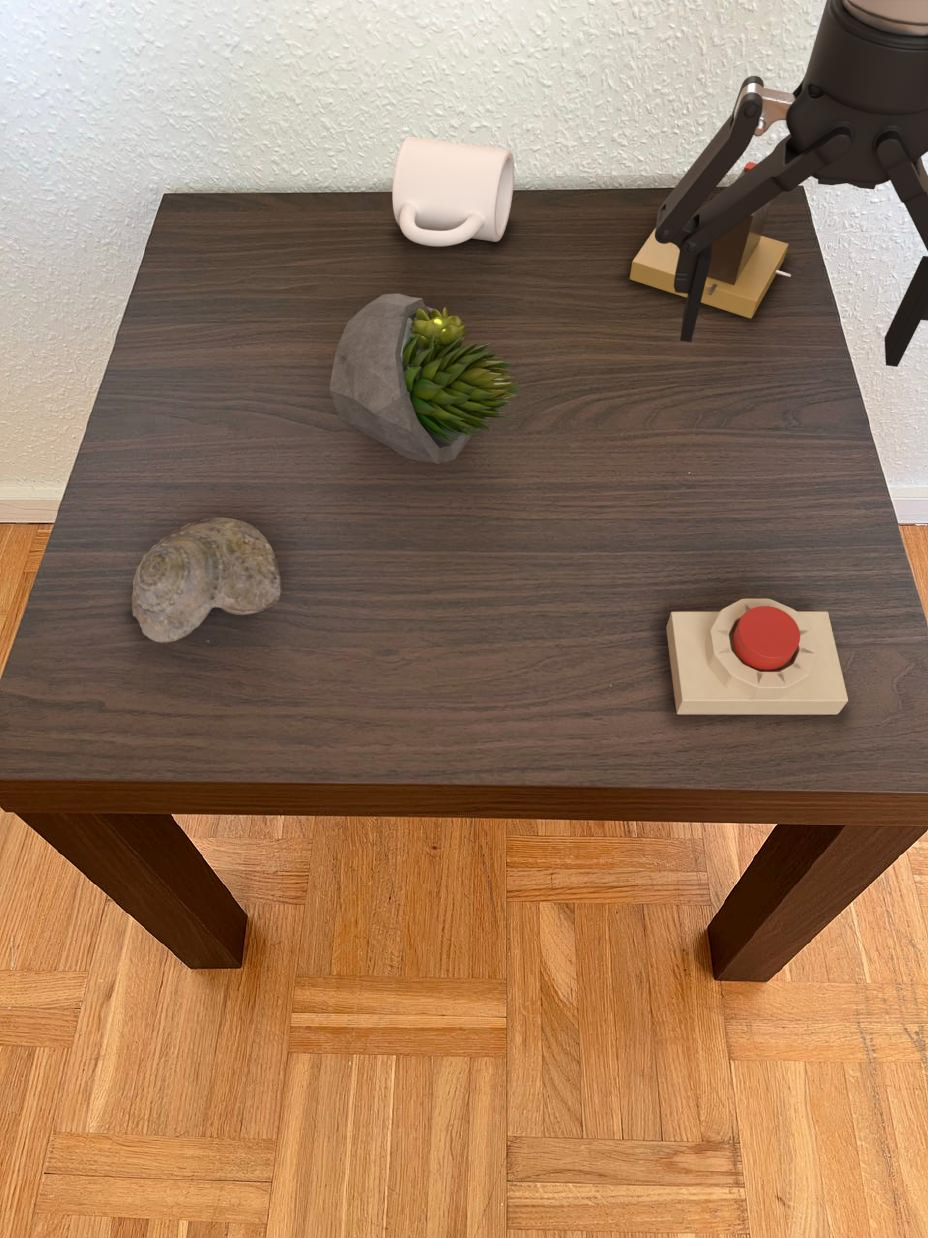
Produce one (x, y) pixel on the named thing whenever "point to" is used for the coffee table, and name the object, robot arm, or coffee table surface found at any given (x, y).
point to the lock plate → (742, 298)
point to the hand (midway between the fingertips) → (787, 340)
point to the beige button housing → (731, 686)
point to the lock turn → (737, 244)
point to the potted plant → (416, 379)
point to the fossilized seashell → (203, 577)
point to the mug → (451, 191)
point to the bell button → (766, 638)
